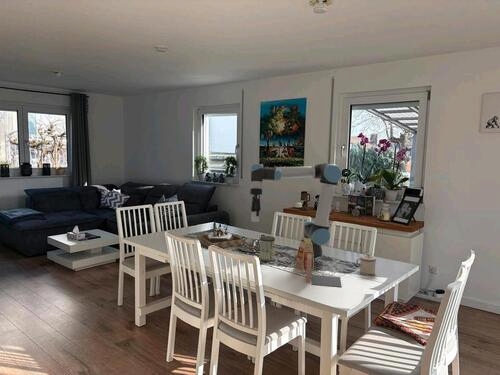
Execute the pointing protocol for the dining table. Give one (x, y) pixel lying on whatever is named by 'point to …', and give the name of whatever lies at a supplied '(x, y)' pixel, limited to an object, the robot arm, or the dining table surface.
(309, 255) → the tile
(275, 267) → the dining table surface
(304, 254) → the milk carton
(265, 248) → the coffee can
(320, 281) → the mat
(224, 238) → the miniature diorama
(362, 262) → the teacup with lid
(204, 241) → the diorama tray
